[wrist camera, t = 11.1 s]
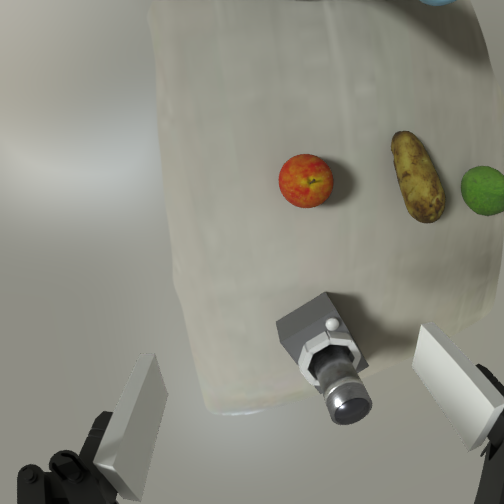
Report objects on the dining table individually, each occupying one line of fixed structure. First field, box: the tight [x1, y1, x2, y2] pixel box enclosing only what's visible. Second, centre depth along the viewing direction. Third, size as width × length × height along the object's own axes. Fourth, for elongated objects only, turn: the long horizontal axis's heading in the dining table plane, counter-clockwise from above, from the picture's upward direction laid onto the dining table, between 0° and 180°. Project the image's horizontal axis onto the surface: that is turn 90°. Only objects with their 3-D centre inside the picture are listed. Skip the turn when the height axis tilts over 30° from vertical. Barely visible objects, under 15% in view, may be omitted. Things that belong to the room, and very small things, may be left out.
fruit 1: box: [279, 154, 333, 208], centre depth 37 cm, size 7×7×8 cm
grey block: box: [276, 292, 369, 394], centre depth 44 cm, size 13×9×8 cm
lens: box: [311, 344, 372, 425], centre depth 36 cm, size 5×5×12 cm
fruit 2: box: [461, 166, 504, 216], centre depth 36 cm, size 8×8×12 cm
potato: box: [391, 131, 445, 223], centre depth 37 cm, size 8×13×8 cm, turn 178°
